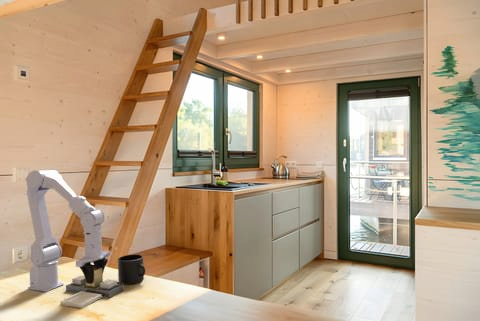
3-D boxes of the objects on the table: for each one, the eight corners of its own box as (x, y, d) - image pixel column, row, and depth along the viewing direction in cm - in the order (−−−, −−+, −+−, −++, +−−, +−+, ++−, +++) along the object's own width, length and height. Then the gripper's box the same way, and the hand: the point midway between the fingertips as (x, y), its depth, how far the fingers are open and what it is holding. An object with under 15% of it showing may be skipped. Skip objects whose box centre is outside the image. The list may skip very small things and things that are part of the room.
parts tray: (60, 304, 120) (60, 301, 120) (81, 294, 128) (81, 291, 128) (81, 308, 117) (81, 304, 117) (101, 297, 125) (101, 294, 125)
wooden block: (86, 289, 131) (85, 269, 131) (94, 285, 135) (93, 266, 134) (94, 290, 129) (94, 271, 129) (102, 286, 133) (102, 267, 133)
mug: (136, 287, 134) (135, 263, 134) (113, 282, 140) (112, 259, 140) (153, 279, 143) (153, 256, 142) (131, 275, 148) (130, 253, 148)
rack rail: (65, 290, 132) (65, 280, 132) (81, 284, 139) (81, 273, 139) (109, 297, 125) (109, 286, 125) (123, 290, 132) (123, 279, 131)
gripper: (86, 249, 124) (87, 289, 124) (116, 240, 137) (116, 276, 137) (70, 247, 126) (71, 287, 126) (101, 238, 140) (102, 274, 140)
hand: (94, 281), depth 132 cm, fingers closed on wooden block, 4 cm apart
